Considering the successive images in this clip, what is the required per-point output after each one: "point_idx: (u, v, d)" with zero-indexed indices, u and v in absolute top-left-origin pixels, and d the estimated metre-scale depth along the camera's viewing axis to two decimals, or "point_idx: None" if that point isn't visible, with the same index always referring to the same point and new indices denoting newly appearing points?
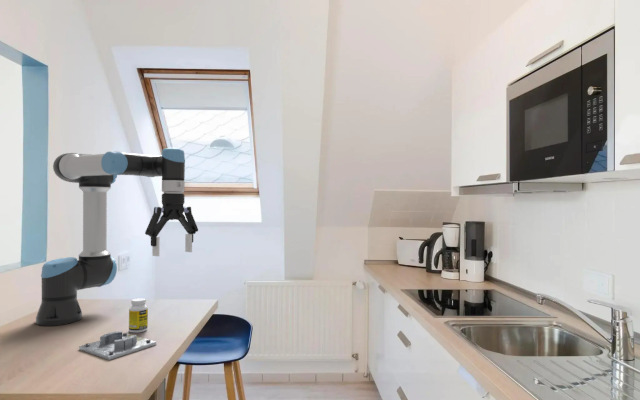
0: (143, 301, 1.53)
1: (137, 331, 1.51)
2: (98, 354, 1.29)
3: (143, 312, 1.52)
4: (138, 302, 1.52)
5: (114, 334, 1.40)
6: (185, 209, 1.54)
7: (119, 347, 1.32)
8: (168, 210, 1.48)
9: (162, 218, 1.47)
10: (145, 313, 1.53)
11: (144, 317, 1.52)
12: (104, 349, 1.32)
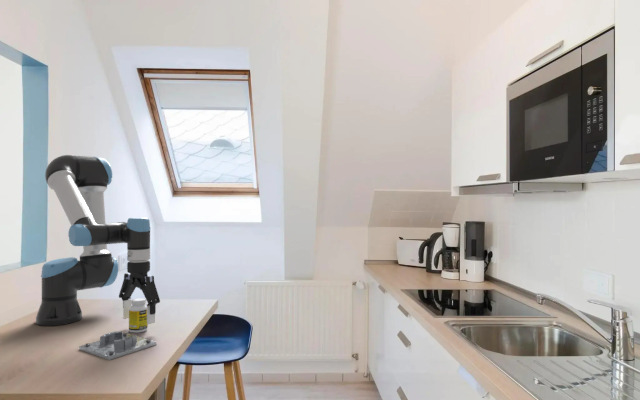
0: (143, 301, 1.53)
1: (137, 331, 1.51)
2: (98, 354, 1.29)
3: (143, 312, 1.52)
4: (138, 302, 1.52)
5: (114, 334, 1.40)
6: None
7: (119, 347, 1.32)
8: (131, 277, 1.54)
9: None
10: (145, 313, 1.53)
11: (144, 317, 1.52)
12: (104, 349, 1.32)
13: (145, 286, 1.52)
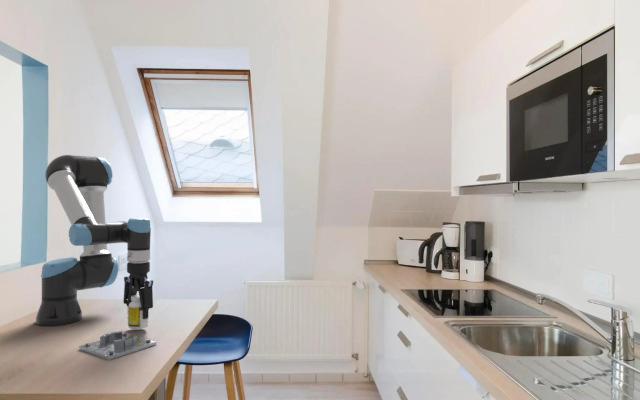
0: None
1: (136, 327, 1.51)
2: (98, 354, 1.29)
3: None
4: (138, 298, 1.52)
5: (114, 334, 1.40)
6: None
7: (119, 347, 1.32)
8: (131, 277, 1.55)
9: None
10: None
11: None
12: (104, 349, 1.32)
13: (143, 289, 1.52)
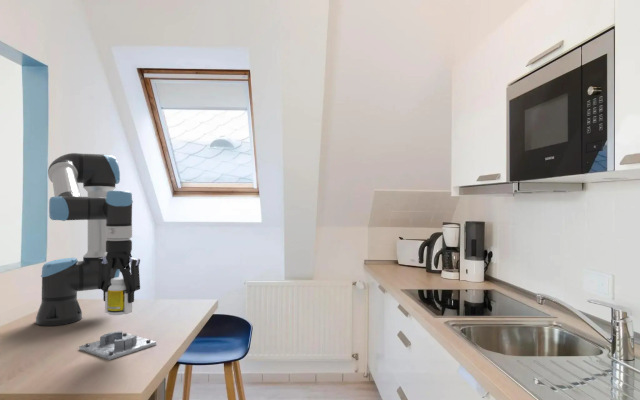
0: None
1: (121, 313, 1.34)
2: (98, 354, 1.29)
3: None
4: (121, 280, 1.35)
5: (114, 334, 1.40)
6: (131, 260, 1.35)
7: (119, 347, 1.32)
8: (109, 258, 1.36)
9: None
10: None
11: None
12: (104, 349, 1.32)
13: (126, 269, 1.36)
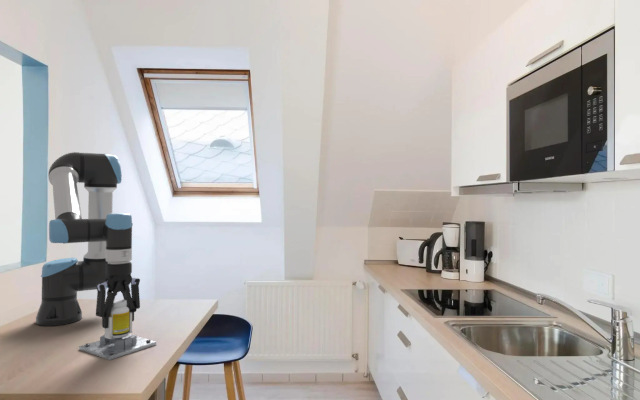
0: None
1: (128, 333, 1.38)
2: (98, 354, 1.29)
3: None
4: (126, 301, 1.38)
5: None
6: (133, 280, 1.41)
7: (119, 347, 1.32)
8: (112, 282, 1.34)
9: (109, 294, 1.34)
10: None
11: None
12: (104, 349, 1.32)
13: None
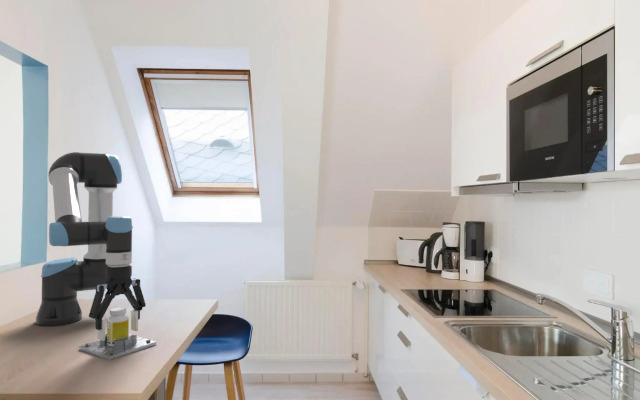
0: None
1: None
2: (98, 354, 1.29)
3: None
4: None
5: None
6: (133, 282, 1.41)
7: (119, 347, 1.32)
8: (112, 285, 1.34)
9: (107, 296, 1.34)
10: None
11: None
12: (104, 349, 1.32)
13: None
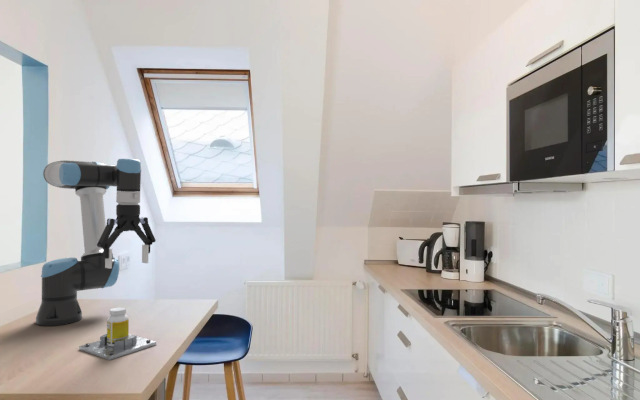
0: None
1: None
2: (98, 354, 1.29)
3: None
4: None
5: None
6: (141, 220, 1.53)
7: (119, 347, 1.32)
8: (122, 222, 1.46)
9: (116, 230, 1.46)
10: None
11: None
12: (104, 349, 1.32)
13: None
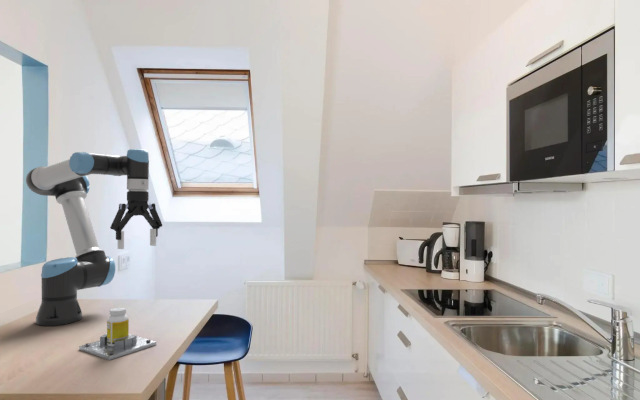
0: None
1: None
2: (98, 354, 1.29)
3: None
4: None
5: None
6: (149, 206, 1.66)
7: (119, 347, 1.32)
8: (132, 206, 1.59)
9: (127, 214, 1.59)
10: None
11: None
12: (104, 349, 1.32)
13: None
